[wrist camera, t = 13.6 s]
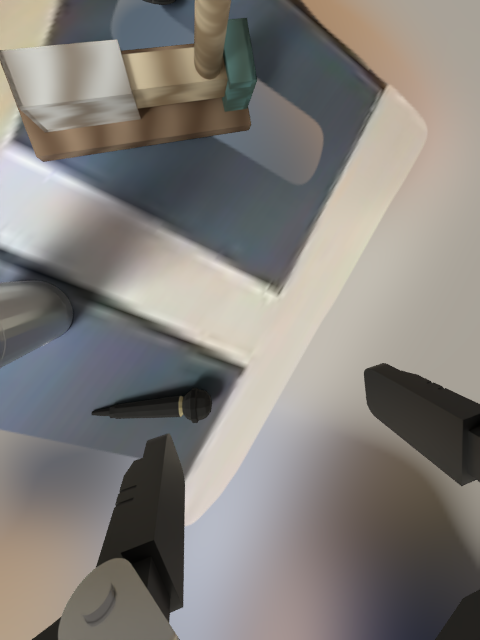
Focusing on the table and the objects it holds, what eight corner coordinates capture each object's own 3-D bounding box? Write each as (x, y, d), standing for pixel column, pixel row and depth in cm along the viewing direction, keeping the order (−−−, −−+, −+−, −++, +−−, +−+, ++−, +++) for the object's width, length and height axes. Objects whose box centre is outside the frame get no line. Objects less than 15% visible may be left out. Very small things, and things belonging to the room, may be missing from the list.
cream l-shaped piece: (104, 112, 31) (31, -17, 17) (94, 81, 30) (9, -83, 16) (239, 95, 33) (274, -31, 19) (234, 65, 33) (266, -89, 18)
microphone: (104, 409, 45) (213, 400, 46) (90, 439, 40) (213, 428, 41) (94, 388, 42) (210, 379, 43) (78, 417, 37) (210, 406, 38)
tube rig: (43, 161, 33) (5, 134, 26) (9, 72, 30) (-43, 16, 23) (248, 130, 37) (261, 99, 30) (234, 49, 34) (244, -5, 27)
